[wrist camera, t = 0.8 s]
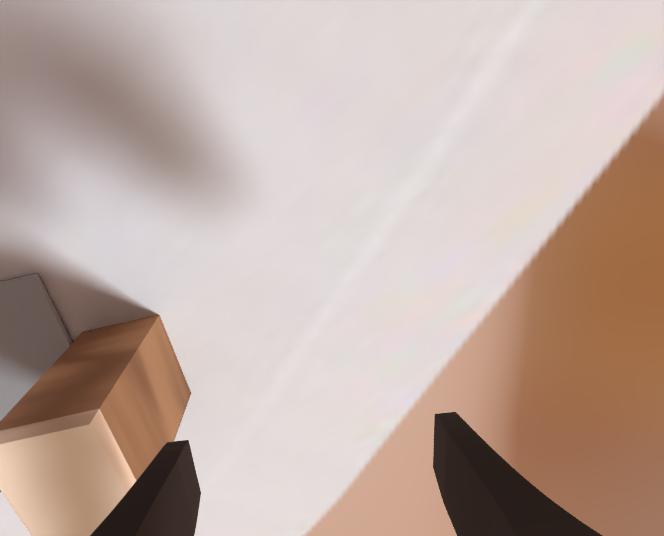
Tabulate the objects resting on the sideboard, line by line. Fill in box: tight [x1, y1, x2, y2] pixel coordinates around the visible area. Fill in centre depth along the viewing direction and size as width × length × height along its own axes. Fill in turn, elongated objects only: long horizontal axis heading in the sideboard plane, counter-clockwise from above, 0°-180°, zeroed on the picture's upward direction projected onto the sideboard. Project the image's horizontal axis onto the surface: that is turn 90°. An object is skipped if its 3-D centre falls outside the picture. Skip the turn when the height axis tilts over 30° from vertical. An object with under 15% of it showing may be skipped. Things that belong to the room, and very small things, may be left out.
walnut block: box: [0, 315, 191, 536], centre depth 19 cm, size 4×5×8 cm
